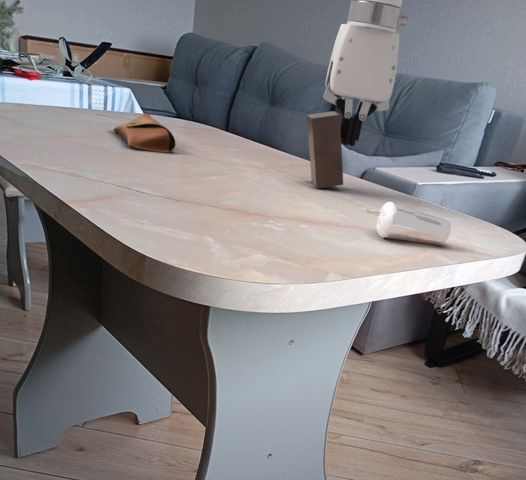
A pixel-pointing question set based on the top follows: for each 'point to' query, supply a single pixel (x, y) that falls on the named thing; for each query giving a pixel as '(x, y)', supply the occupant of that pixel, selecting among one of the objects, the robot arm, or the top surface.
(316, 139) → the walnut pillar
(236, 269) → the top surface
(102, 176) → the top surface
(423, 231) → the milkshake
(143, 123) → the sunglasses case
